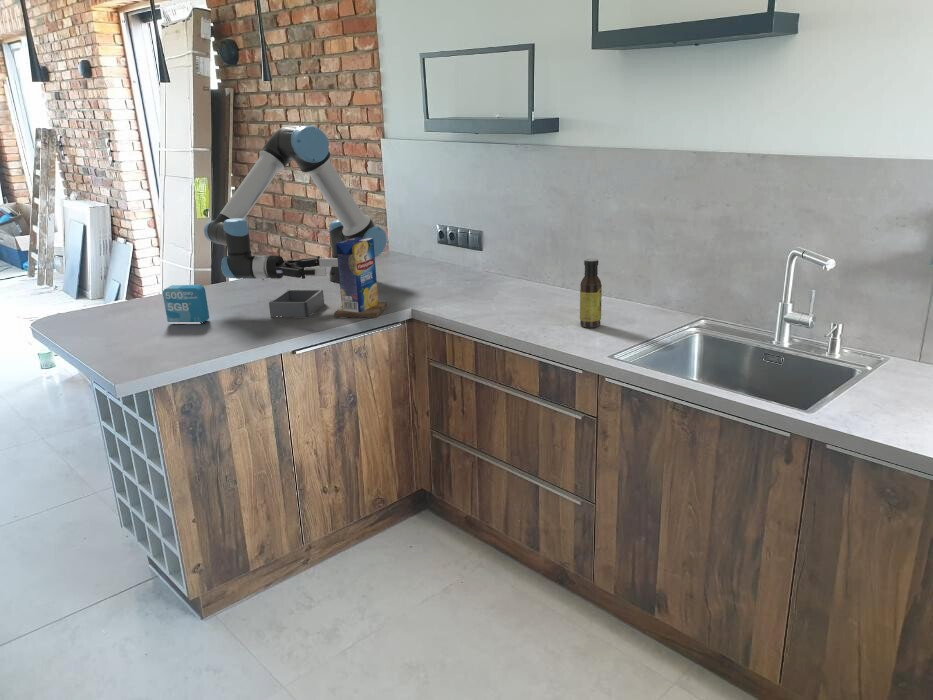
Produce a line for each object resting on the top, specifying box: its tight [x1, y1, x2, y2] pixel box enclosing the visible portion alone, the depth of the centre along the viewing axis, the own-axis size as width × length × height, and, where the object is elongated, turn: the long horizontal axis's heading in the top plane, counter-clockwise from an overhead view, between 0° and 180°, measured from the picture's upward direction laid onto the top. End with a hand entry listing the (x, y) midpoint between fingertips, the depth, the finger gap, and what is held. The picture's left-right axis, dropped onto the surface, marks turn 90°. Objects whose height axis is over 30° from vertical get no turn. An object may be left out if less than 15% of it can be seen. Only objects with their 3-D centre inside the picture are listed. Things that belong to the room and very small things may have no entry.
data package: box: [162, 284, 210, 323], centre depth 226 cm, size 12×4×12 cm, turn 87°
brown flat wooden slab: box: [333, 301, 388, 319], centre depth 234 cm, size 14×14×2 cm
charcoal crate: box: [268, 289, 325, 318], centre depth 237 cm, size 17×13×5 cm
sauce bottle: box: [579, 258, 603, 329], centre depth 209 cm, size 6×6×20 cm
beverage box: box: [336, 237, 379, 313], centre depth 230 cm, size 7×11×22 cm, turn 153°
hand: (332, 266), depth 230 cm, fingers open, 13 cm apart
